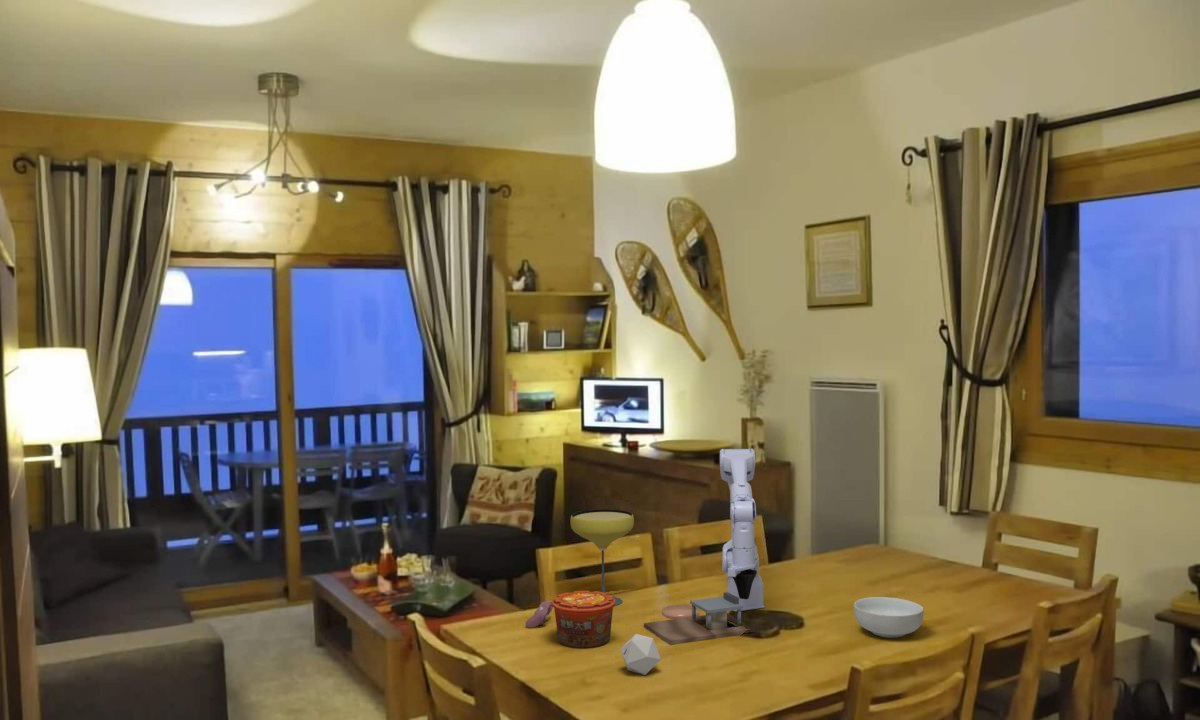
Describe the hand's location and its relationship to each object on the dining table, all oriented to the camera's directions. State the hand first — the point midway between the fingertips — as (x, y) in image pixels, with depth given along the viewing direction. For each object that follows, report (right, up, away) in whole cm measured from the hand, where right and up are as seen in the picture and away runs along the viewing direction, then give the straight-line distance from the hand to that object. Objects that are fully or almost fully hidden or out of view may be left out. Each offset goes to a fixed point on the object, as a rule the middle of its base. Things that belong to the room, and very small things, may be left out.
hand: (744, 598), depth 256 cm
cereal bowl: (+35, -7, -10) cm, 37 cm away
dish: (-16, -7, +10) cm, 20 cm away
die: (-29, -8, -34) cm, 45 cm away
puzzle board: (-12, -7, -5) cm, 15 cm away
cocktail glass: (-37, -7, +23) cm, 44 cm away
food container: (-42, -8, -12) cm, 44 cm away
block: (-8, -7, -3) cm, 11 cm away
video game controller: (-53, -8, +3) cm, 54 cm away
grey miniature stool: (-8, -5, -3) cm, 10 cm away
